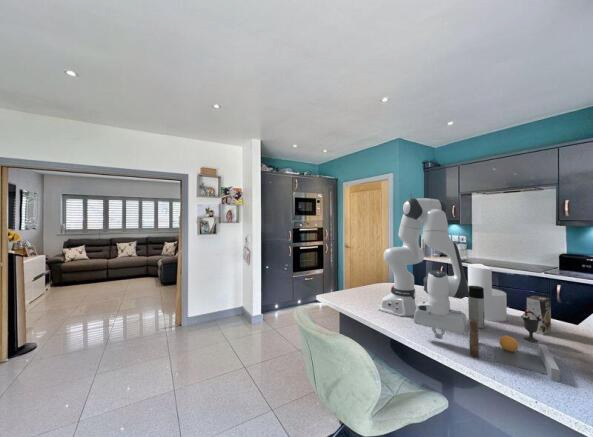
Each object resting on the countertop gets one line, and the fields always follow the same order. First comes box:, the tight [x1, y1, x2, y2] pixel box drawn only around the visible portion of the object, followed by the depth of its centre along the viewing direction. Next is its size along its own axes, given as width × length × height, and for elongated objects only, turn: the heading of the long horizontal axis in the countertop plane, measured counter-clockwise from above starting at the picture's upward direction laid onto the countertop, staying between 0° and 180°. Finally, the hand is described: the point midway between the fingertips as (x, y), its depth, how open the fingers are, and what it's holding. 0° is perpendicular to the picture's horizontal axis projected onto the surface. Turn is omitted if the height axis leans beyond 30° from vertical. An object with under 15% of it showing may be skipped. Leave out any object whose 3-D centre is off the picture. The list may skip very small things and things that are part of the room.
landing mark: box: [493, 345, 548, 375], centre depth 97 cm, size 14×14×1 cm
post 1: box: [469, 321, 479, 334], centre depth 111 cm, size 3×3×9 cm
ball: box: [498, 335, 519, 352], centre depth 103 cm, size 6×6×6 cm
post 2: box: [468, 331, 480, 359], centre depth 100 cm, size 3×3×9 cm
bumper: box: [538, 343, 561, 383], centre depth 92 cm, size 2×20×4 cm, turn 144°
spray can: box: [467, 286, 486, 329], centre depth 128 cm, size 7×7×20 cm
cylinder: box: [467, 263, 508, 322], centre depth 141 cm, size 17×17×28 cm
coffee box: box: [526, 295, 552, 336], centre depth 121 cm, size 9×6×16 cm
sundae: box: [520, 305, 541, 344], centre depth 112 cm, size 7×7×15 cm
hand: (438, 338), depth 112 cm, fingers closed
